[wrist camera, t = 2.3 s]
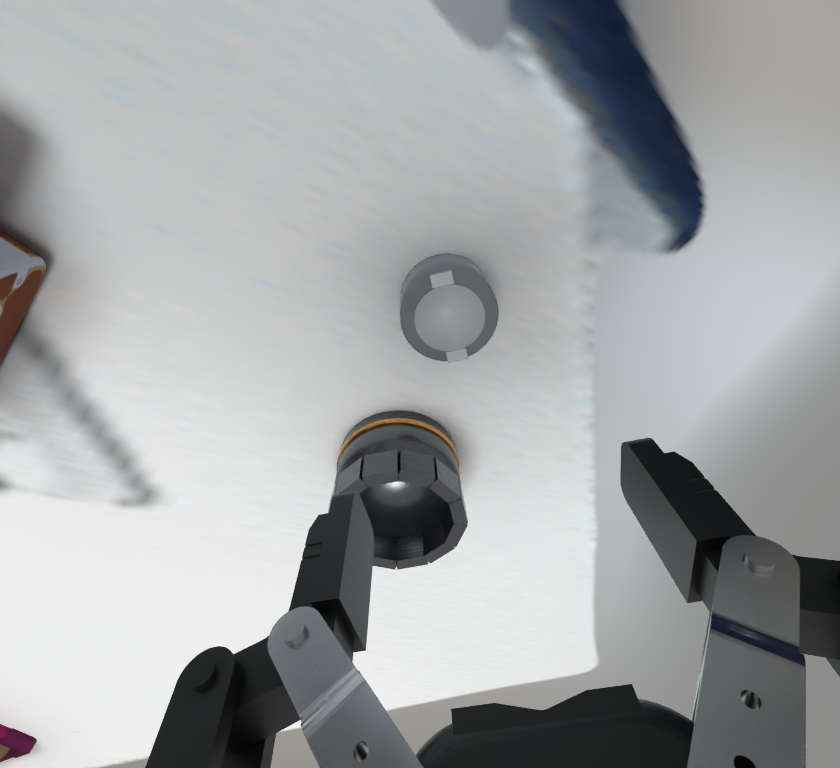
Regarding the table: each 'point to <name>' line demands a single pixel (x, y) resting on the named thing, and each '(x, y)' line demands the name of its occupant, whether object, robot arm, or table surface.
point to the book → (14, 743)
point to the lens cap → (447, 308)
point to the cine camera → (16, 286)
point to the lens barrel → (404, 486)
